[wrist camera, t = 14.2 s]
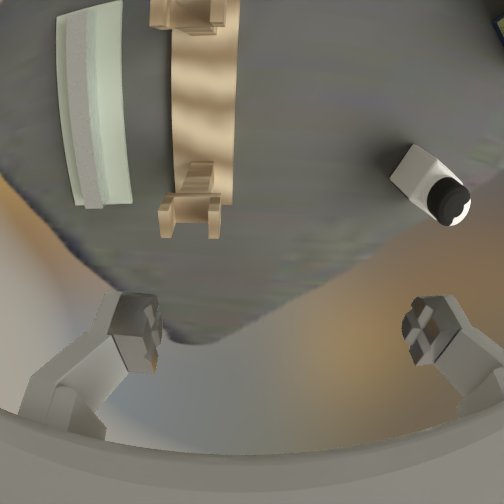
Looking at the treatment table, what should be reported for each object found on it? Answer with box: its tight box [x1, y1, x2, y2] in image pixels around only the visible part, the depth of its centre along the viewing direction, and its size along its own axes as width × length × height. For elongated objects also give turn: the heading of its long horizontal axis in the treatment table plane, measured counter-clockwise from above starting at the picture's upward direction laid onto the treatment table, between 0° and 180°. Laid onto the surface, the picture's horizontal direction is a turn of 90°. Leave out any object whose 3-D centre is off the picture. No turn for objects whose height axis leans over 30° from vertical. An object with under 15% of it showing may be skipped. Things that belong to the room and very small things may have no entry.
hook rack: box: [149, 0, 240, 239], centre depth 29 cm, size 30×8×15 cm, turn 177°
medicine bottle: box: [390, 144, 471, 226], centre depth 37 cm, size 7×7×12 cm
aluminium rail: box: [66, 10, 110, 209], centre depth 33 cm, size 28×3×3 cm, turn 177°
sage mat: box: [56, 0, 133, 205], centre depth 34 cm, size 30×10×1 cm, turn 177°
